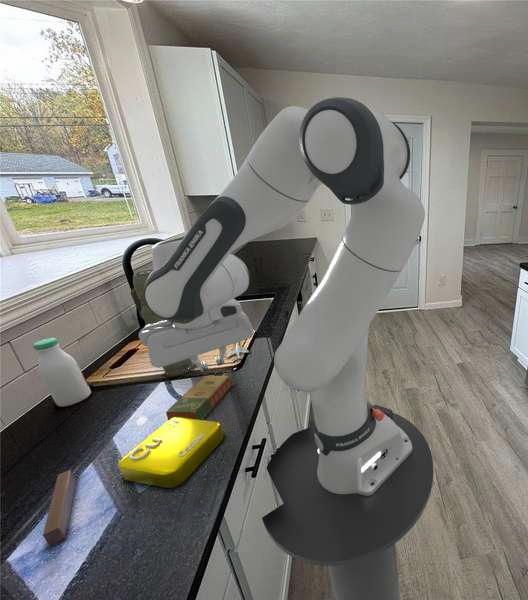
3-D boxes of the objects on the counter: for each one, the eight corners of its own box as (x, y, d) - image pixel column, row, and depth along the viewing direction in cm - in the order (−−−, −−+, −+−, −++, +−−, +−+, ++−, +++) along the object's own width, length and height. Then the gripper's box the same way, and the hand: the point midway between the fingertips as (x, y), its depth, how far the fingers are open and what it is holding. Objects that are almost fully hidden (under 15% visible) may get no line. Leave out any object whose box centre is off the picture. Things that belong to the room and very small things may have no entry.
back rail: (76, 479, 69) (70, 469, 67) (65, 538, 57) (58, 527, 56) (64, 484, 67) (57, 474, 66) (50, 546, 56) (42, 535, 55)
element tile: (177, 490, 65) (169, 473, 63) (119, 480, 68) (111, 463, 66) (227, 435, 78) (222, 420, 77) (178, 428, 81) (172, 414, 80)
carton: (232, 386, 97) (229, 375, 96) (199, 424, 82) (194, 411, 81) (206, 386, 98) (203, 375, 96) (169, 424, 83) (164, 411, 81)
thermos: (167, 364, 111) (131, 270, 98) (203, 359, 113) (173, 266, 100) (154, 379, 103) (113, 278, 90) (193, 373, 105) (158, 274, 92)
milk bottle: (92, 397, 95) (63, 340, 88) (56, 411, 90) (22, 351, 83) (91, 387, 101) (63, 332, 93) (57, 399, 96) (25, 342, 88)
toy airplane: (247, 338, 127) (246, 333, 126) (250, 363, 109) (249, 357, 108) (226, 344, 124) (225, 338, 123) (226, 370, 106) (224, 364, 105)
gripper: (135, 333, 60) (159, 392, 65) (248, 303, 71) (261, 355, 76) (135, 323, 64) (157, 379, 69) (241, 296, 76) (253, 346, 81)
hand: (212, 366), depth 73 cm, fingers closed
